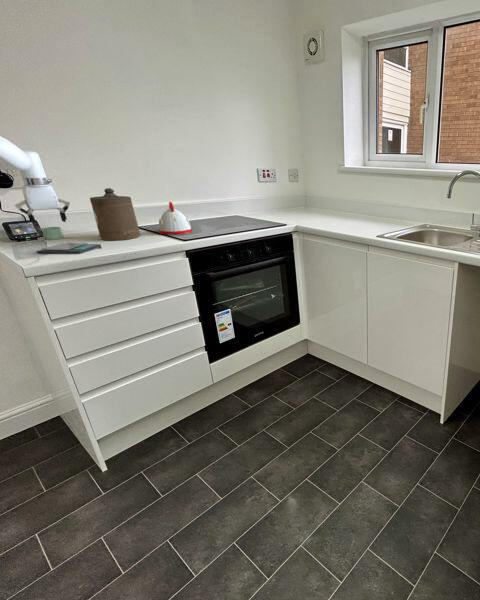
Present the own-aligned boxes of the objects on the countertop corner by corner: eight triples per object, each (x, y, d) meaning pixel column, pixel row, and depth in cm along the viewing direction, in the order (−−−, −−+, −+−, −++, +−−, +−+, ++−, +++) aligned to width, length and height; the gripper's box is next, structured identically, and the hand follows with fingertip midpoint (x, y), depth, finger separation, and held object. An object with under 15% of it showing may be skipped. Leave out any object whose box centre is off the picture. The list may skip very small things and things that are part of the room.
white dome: (162, 235, 170) (155, 204, 164) (158, 231, 179) (151, 201, 174) (194, 233, 178) (188, 202, 172) (189, 229, 188) (183, 200, 182)
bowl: (40, 239, 154) (36, 229, 152) (51, 236, 160) (48, 226, 158) (56, 239, 155) (53, 229, 153) (67, 237, 161) (64, 226, 159)
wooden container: (115, 234, 170) (102, 186, 162) (147, 234, 171) (136, 187, 163) (92, 240, 156) (77, 189, 148) (127, 241, 157) (114, 190, 149)
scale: (38, 257, 128) (36, 249, 127) (63, 249, 139) (61, 242, 138) (81, 257, 130) (78, 249, 129) (102, 250, 141) (100, 242, 140)
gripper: (60, 181, 157) (72, 219, 164) (5, 182, 144) (20, 224, 151) (64, 182, 153) (77, 221, 159) (7, 183, 140) (23, 226, 147)
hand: (49, 222), depth 155 cm, fingers open, 9 cm apart
